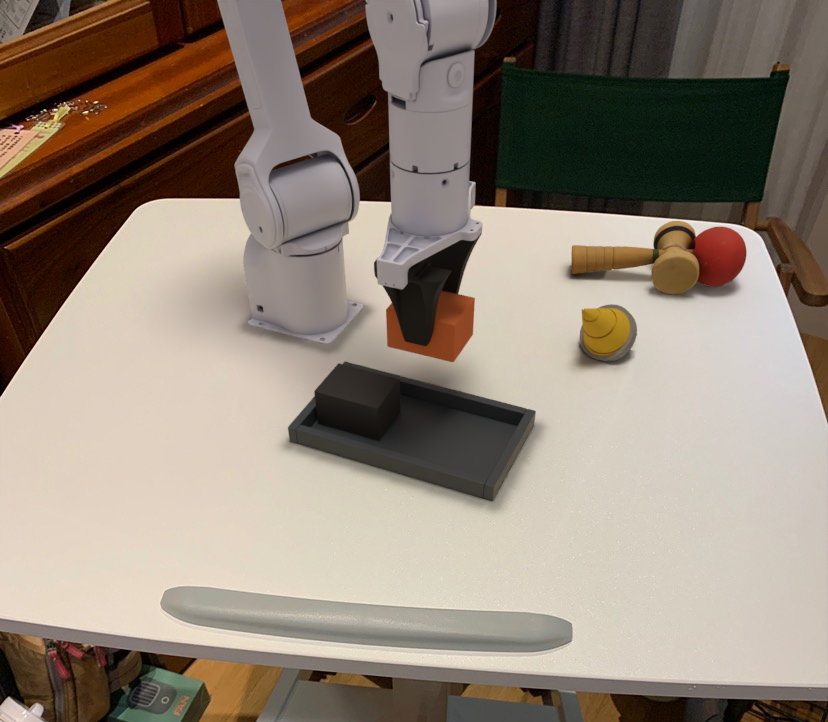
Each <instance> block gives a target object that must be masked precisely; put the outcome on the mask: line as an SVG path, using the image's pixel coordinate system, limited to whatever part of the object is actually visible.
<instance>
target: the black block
mask: <svg viewBox="0 0 828 722" xmlns="http://www.w3.org/2000/svg"><path fill="white" fill-rule="evenodd" d="M313 394H314V396H315V402H316V411H317V420H318V424H322V425H325V426H329V427H332V428H336V429H339V430H343V431H346V432H350V433H353V434H357V435H360V436H364V437H367V438H371V439H374V440H378V441H379V440H380V439H381V437H382V436H383V435H384V433H385V432H386V431H387V429H388V428H389V426H390V425H391V424H392V422H393V421H394V420H395V418H396V417H397V416H398V414H399V413H400V379H397V378H393V377H389V376H385V375H382V374H378V373H374V372H370V371H366V370H362V369H359V368H355V367H351V366H347V365H343V363H339V362H338V363H337V364H336V365H335V366H334V368H333V369H332V370H331V371H330V372H329V373H328V375H327V376H325V378H324V379H323V380H322V381H321V383H320V384H319V385H318V386H317V387H316V388H315V390H314V393H313Z"/></svg>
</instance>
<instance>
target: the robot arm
mask: <svg viewBox="0 0 828 722" xmlns="http://www.w3.org/2000/svg"><path fill="white" fill-rule="evenodd" d="M364 1H365V3H366V4H365V17H366V23H367V28H368V32H369V36H370V39H371V41H372V44H373V46H374V49H375V51H376V55H377V60H378V69H379V70H378V73H379V74H378V76H379V80H380V81H381V86H382V89H383V90H384V91H385V92H387V100H388V101H387V106H388V107H387V108H388V139H389V142H388V143H389V175H390V176H389V179H390V210H391V211H390V212H391V213H390V215H389V216H388V221H387V227H386V231H385V238H384V243H383V248H382V252H381V253H380V255H379V256H378V257H377V258H376V259H375V261H374V262H373V272H374V277H375V278H376V279H377V285H379V286H382V288H383V289H384V291H385V292H386V294H387V296H388V298H389V300H390V302H391V303H392V304H393V307H394V309H395V312H396V315H397V318H398V322H399V325H400V329H401V332H402V335H403V338H404V341H405V342H409V343H414V344H418V345H422V346H427V345H428V344H429V343H430V340H431V337H432V334H433V330H434V324H435V316H436V309H437V304H438V300H439V297H440V294H441V291H445V292H450V293H455V294H459V292H460V288H461V284H462V281H463V277H464V274H465V271H466V267H467V265H468V262H469V260H470V257H471V255H472V253H473V250H474V248H475V247H476V244H477V243H478V241H479V239H480V237H481V236H482V235H483V234H482V233H483V222H481V221H480V220H477V219H472V218H471V213H472V212H471V211H472V209H473V208H474V207H475V206H476V186H477V185H476V182H475V181H470V174H471V173H470V172H471V171H470V168H471V149H472V147H471V146H472V125H473V124H472V122H473V101H474V100H473V99H474V74H475V52H476V51H475V50H476V49H478V48H480V47H482V46H483V45H484V44H485V43H486V42H487V41H488V39H489V38H490V36H491V34H492V31H493V28H494V25H495V22H496V16H497V0H364ZM217 5H218V8H219V13H220V16H221V19H222V23H223V26H224V30H225V33H226V36H227V39H228V44H229V47H230V51H231V54H232V57H233V60H234V63H235V67H236V71H237V75H238V79H239V82H240V84H241V88H242V91H243V95H244V99H245V102H246V106H247V109H248V112H249V115H250V119H251V123H252V126H253V132H252V134H251V136H250V137H249V139H248V141H247V142H246V144H245V145H244V147H243V149H242V150H241V152H240V154H239V155H238V157H237V158H236V160H235V162H234V165H233V166H234V169H235V176H236V179H237V184H238V190H239V204H240V205H239V206H240V210H241V213H242V217H243V221H244V222H245V224H246V227H247V229H248V231H249V232H250V235H249V236H248V237H247V239H246V242H245V246H244V250H243V260H242V262H243V263H242V265H243V273H244V278H245V279H244V280H245V284H246V290H247V291H246V292H247V298H248V303H249V307H250V313H251V314H250V315H251V318H250V319H249V320H248V321H247V324H248V325H249V326H251V327H255V328H258V329H263V330H267V331H271V332H275V333H279V334H282V335H286V336H289V337H294V338H299V339H302V340H305V341H310V342H314V343H316V344H317V343H318V344H322V345H331V344H332V343H333V342H334V341H335V340H336V339H337V338H338V337H339V336H340V335H341V333H342V332H343V331H344V330H346V328H347V327H348V326H349V325H350V323H351V322H353V320H354V319H355V318H356V317H357V316H358V315H359V313H360V312H361V311H362V310H363V309H364V304H363V303H359V302H355V301H351V300H348V294H347V281H346V266H345V265H346V264H345V251H344V239H343V237H345V236H347V235H349V234H350V226H349V223H350V222H352V221H354V220H355V219H356V217H357V216H358V212H359V209H360V202H361V194H360V193H361V192H360V186H359V183H358V179H357V176H356V174H355V171H354V169H353V168H352V166H351V165H350V163H349V160H348V158H347V156H346V153H345V150H344V147H343V144H342V143H343V142H342V140H341V137H340V136H339V135H338V134H337V133H336V132H334V131H332V130H331V129H329V128H327V127H325V126H324V125H323V124H320V123H319V122H317V121H316V120H314V119H313V118H312V117H311V112H310V109H309V104H308V101H307V96H306V93H305V90H304V85H303V81H302V77H301V74H300V69H299V65H298V61H297V58H296V54H295V50H294V47H293V46H294V45H293V42H292V39H291V34H290V31H289V26H288V23H287V19H286V15H285V11H284V7H283V3H282V0H217ZM306 156H309V157H311V158H308V159H306V160H302V161H298V162H295V163H292V164H289V165H285V166H283V167H279V168H276V169H274V168H275V167H277V166H278V165H280V164H282V163H287V162H289V161H292V160H295V159H299V158H302V157H306Z"/></svg>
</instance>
